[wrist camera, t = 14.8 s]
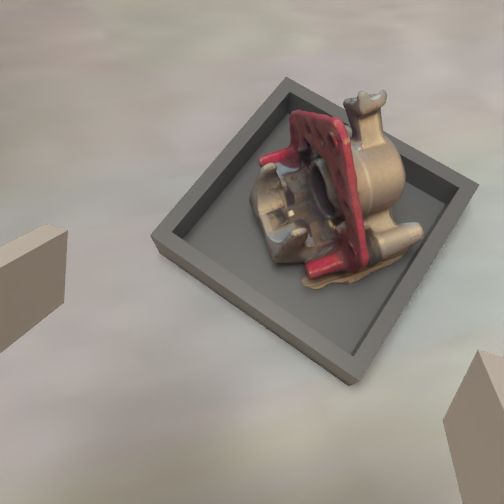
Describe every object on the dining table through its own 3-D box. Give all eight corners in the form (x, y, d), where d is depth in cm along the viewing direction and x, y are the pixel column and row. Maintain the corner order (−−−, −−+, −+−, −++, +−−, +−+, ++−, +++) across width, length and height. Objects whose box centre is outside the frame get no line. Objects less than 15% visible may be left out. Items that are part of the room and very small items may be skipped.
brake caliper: (198, 167, 32) (309, 28, 24) (303, 176, 40) (416, 72, 32) (256, 316, 29) (410, 211, 21) (361, 296, 36) (505, 213, 28)
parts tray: (159, 252, 34) (150, 235, 31) (283, 105, 38) (286, 76, 35) (348, 385, 30) (359, 380, 27) (459, 206, 35) (479, 184, 32)
